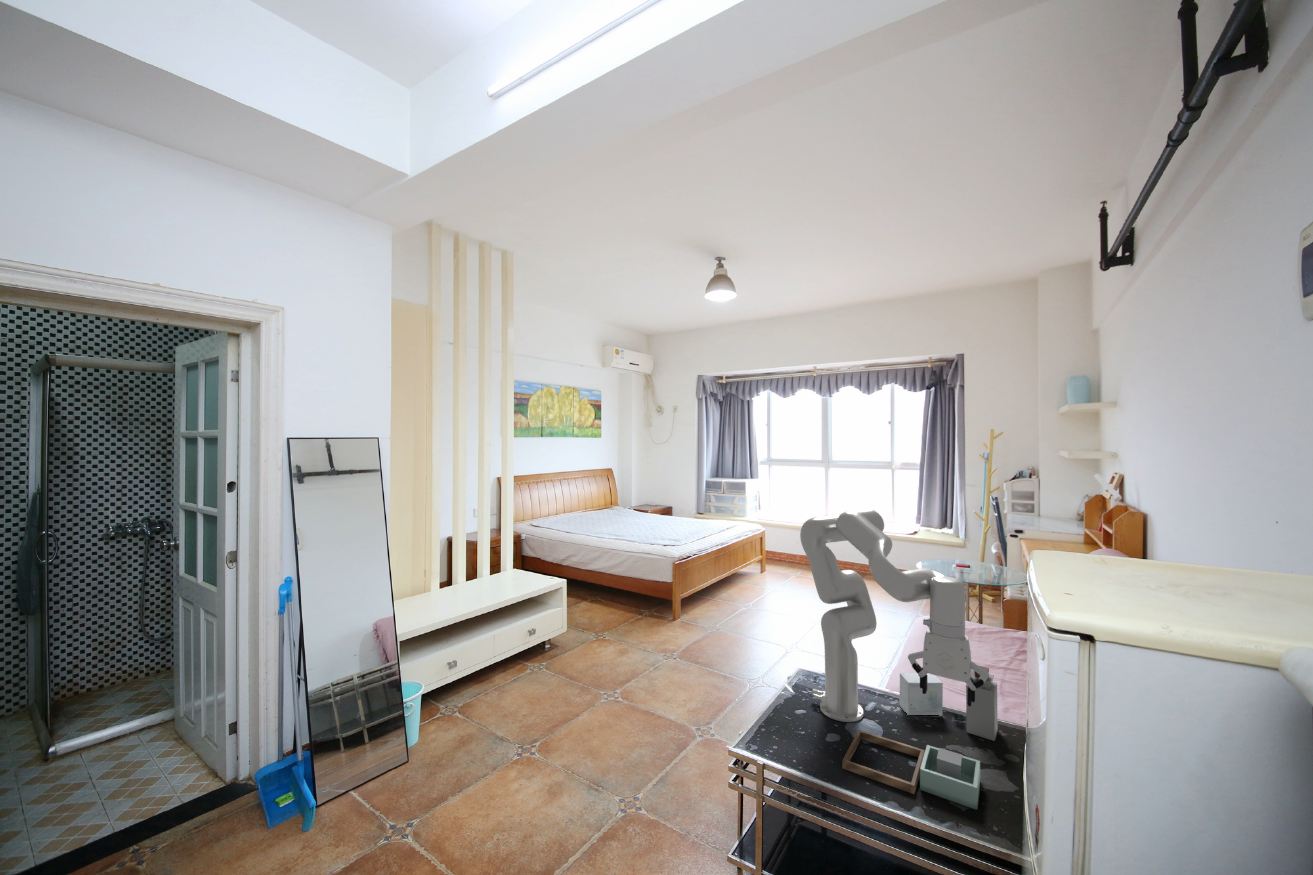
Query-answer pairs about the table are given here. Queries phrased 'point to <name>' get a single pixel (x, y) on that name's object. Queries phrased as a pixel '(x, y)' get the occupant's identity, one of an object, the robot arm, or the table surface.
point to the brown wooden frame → (879, 775)
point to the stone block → (950, 764)
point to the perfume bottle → (983, 709)
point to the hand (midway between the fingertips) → (946, 697)
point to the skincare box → (920, 695)
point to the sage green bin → (951, 780)
